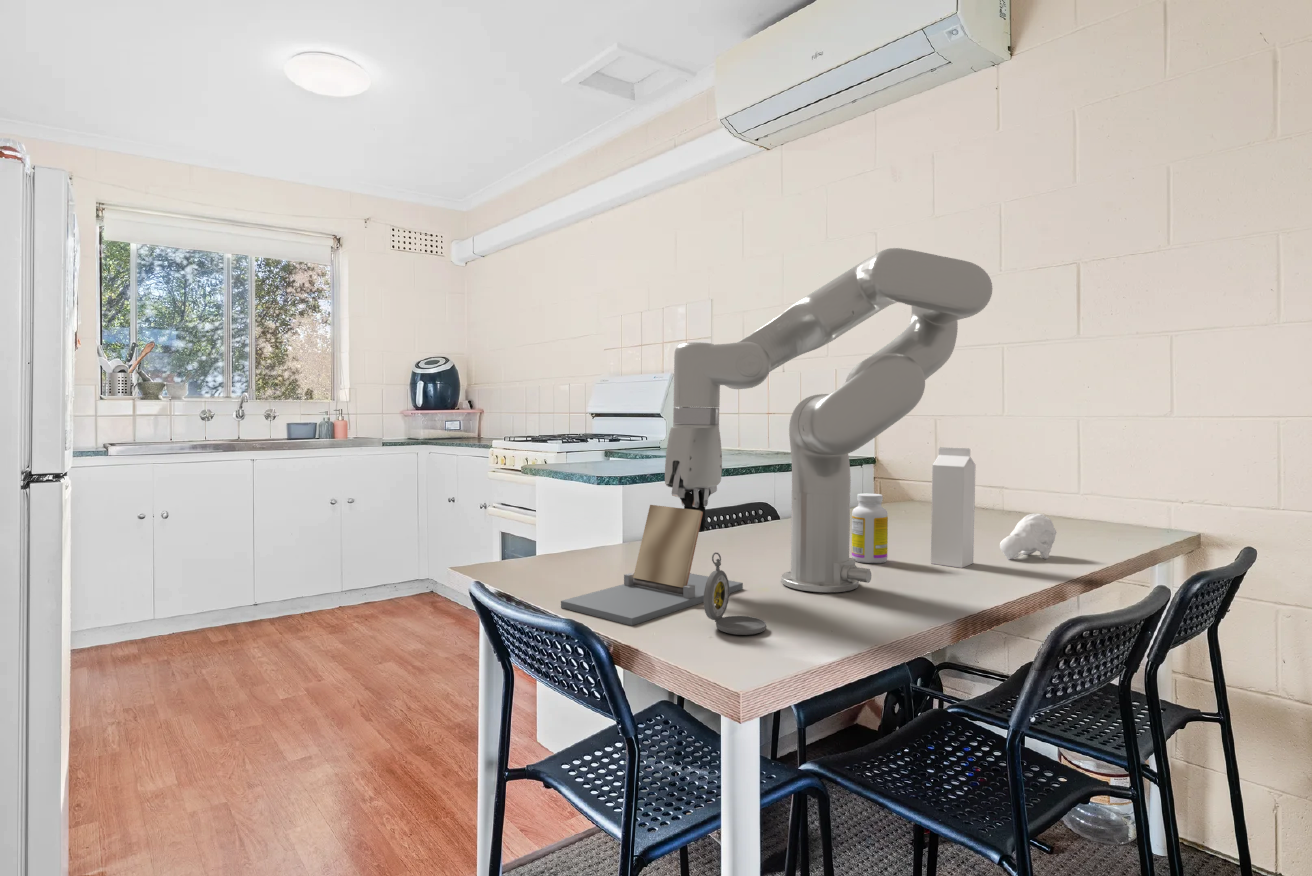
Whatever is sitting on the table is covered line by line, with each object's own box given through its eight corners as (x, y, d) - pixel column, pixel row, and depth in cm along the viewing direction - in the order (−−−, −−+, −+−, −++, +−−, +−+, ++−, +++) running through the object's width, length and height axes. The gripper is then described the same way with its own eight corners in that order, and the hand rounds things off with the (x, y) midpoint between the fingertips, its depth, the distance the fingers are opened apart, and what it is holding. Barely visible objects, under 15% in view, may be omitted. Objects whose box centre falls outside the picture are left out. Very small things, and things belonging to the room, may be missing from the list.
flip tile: (703, 511, 117) (699, 510, 116) (685, 595, 114) (681, 594, 113) (653, 506, 123) (650, 504, 122) (635, 585, 120) (631, 584, 119)
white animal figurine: (1059, 514, 148) (1016, 523, 143) (1060, 556, 148) (1018, 567, 143) (1031, 510, 153) (988, 519, 148) (1032, 551, 154) (990, 561, 149)
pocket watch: (771, 637, 97) (772, 560, 96) (706, 638, 96) (707, 560, 96) (757, 619, 105) (758, 548, 105) (697, 620, 104) (698, 548, 104)
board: (742, 589, 122) (742, 572, 122) (631, 625, 101) (631, 605, 101) (675, 576, 131) (675, 560, 131) (560, 607, 110) (560, 589, 110)
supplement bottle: (888, 558, 147) (889, 493, 146) (885, 565, 141) (887, 497, 140) (853, 556, 149) (854, 491, 149) (849, 562, 143) (850, 495, 143)
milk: (962, 568, 139) (964, 449, 138) (929, 563, 143) (932, 447, 142) (973, 563, 143) (976, 447, 142) (942, 558, 147) (944, 446, 146)
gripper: (705, 418, 131) (703, 523, 132) (648, 418, 120) (647, 533, 120) (741, 419, 126) (738, 528, 127) (685, 419, 115) (683, 539, 116)
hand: (694, 530), depth 124 cm, fingers closed
